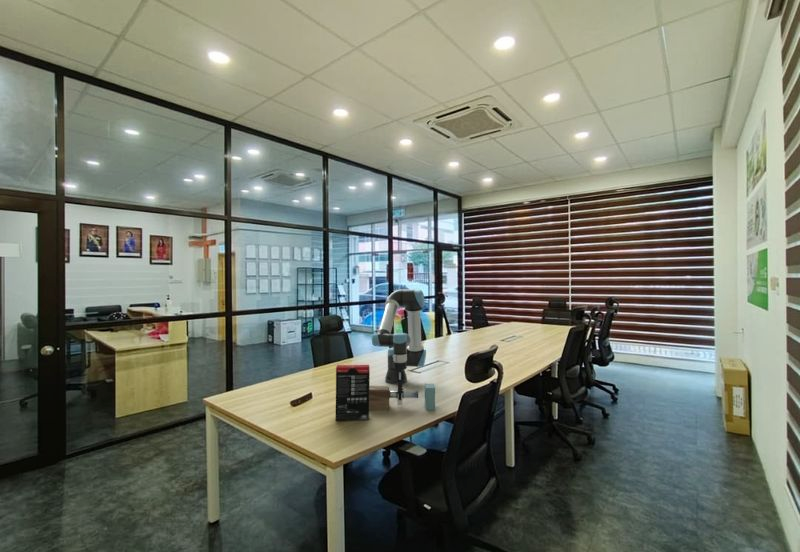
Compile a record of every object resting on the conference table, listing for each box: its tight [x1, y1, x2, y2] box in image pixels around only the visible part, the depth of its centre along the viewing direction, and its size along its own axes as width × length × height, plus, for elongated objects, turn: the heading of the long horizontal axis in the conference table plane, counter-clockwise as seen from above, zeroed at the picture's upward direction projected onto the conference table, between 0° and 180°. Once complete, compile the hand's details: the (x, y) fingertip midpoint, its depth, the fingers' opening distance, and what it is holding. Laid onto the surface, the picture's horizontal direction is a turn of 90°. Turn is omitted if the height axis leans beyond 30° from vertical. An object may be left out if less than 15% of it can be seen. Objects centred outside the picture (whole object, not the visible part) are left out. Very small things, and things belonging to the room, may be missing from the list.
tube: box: [389, 389, 419, 399], centre depth 201 cm, size 26×4×4 cm, turn 90°
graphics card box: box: [335, 364, 371, 422], centre depth 185 cm, size 17×7×27 cm, turn 96°
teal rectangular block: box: [424, 383, 436, 411], centre depth 201 cm, size 8×5×12 cm, turn 0°
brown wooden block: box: [369, 385, 390, 411], centre depth 201 cm, size 7×12×11 cm, turn 90°
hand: (400, 403), depth 201 cm, fingers closed on tube, 4 cm apart
